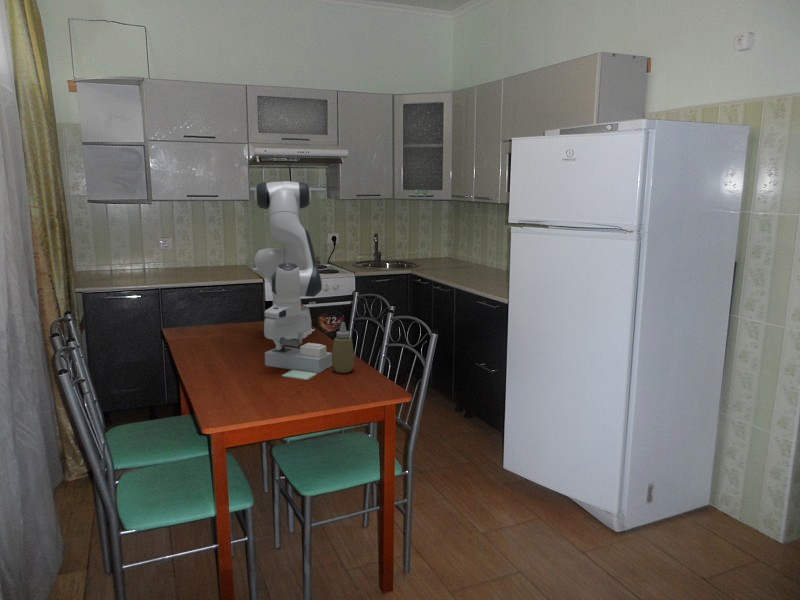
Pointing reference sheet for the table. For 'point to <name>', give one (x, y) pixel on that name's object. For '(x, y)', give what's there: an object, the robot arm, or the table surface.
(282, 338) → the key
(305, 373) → the pad
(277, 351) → the block
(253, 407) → the table surface
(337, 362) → the squeeze bottle
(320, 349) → the cover
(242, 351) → the table surface
